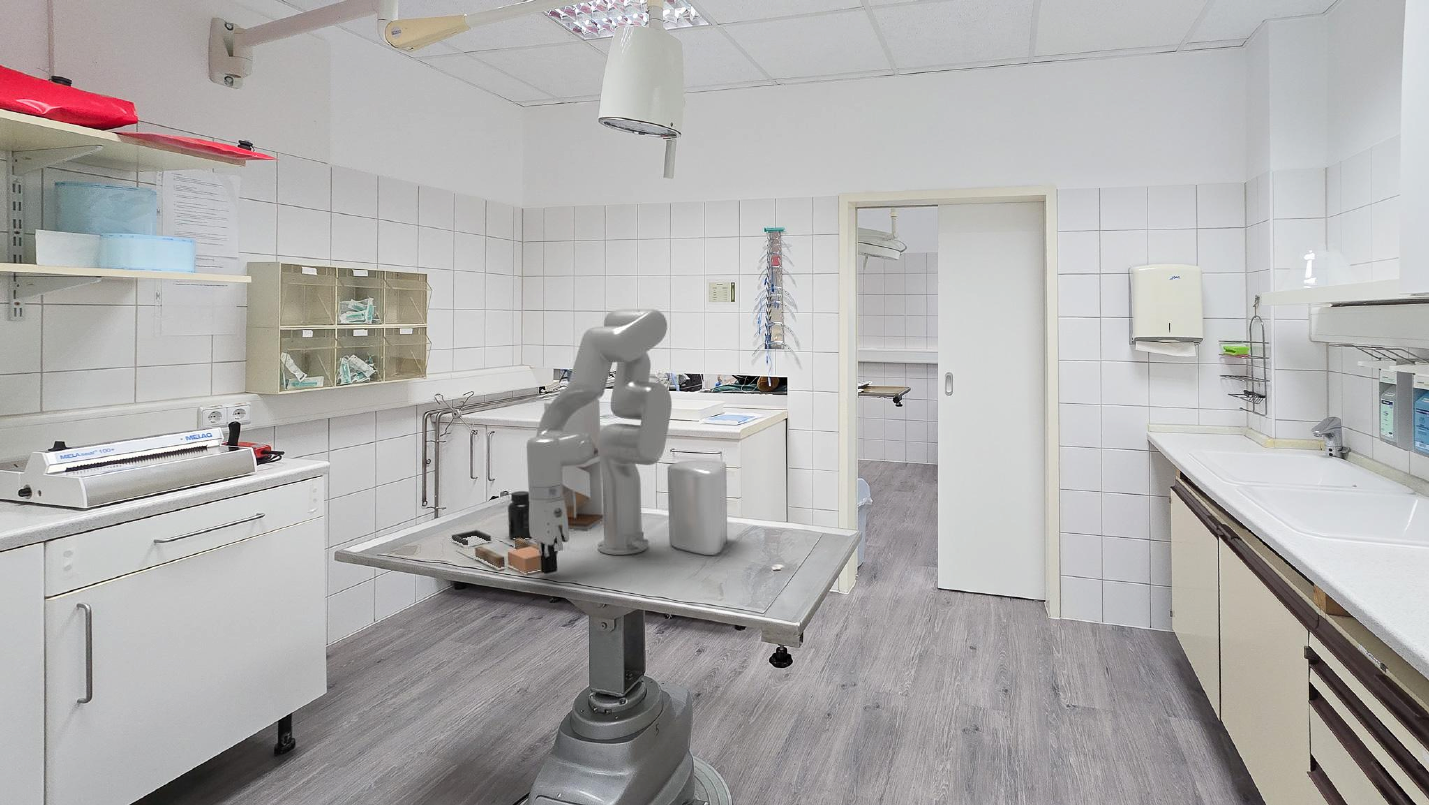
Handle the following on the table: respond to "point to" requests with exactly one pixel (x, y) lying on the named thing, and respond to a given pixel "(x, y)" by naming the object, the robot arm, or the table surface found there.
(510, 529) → the supplement bottle
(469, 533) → the black u-shaped bracket
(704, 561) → the table surface
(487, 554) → the channel
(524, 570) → the block
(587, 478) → the display case
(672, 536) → the grey rounded upright block
